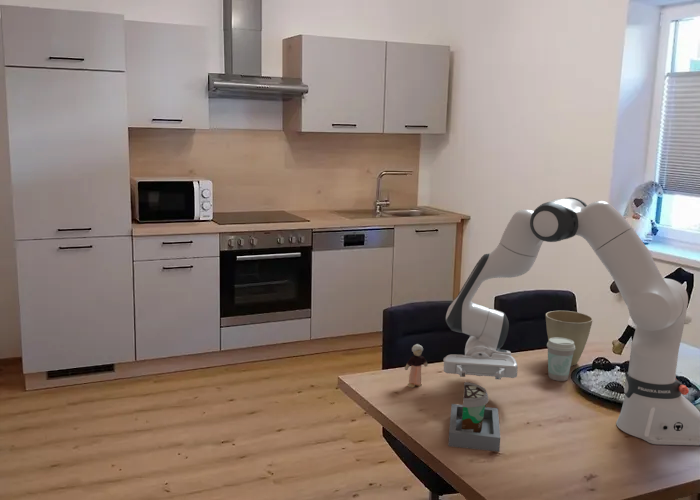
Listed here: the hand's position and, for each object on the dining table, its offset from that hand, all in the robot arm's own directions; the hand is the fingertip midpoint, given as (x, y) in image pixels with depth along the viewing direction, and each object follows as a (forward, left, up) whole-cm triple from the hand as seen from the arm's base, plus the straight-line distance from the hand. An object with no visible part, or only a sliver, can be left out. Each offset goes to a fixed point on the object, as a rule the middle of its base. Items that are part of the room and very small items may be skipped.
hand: (480, 375), depth 184 cm
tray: (+1, +15, -10) cm, 18 cm away
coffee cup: (-25, -33, -10) cm, 43 cm away
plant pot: (-29, -49, -10) cm, 58 cm away
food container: (+1, +14, -9) cm, 17 cm away
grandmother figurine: (+18, -15, -10) cm, 26 cm away
